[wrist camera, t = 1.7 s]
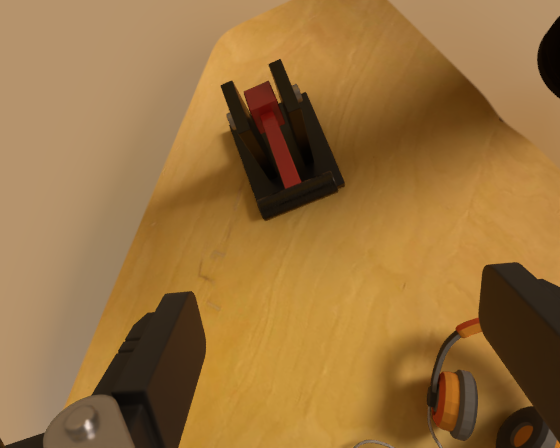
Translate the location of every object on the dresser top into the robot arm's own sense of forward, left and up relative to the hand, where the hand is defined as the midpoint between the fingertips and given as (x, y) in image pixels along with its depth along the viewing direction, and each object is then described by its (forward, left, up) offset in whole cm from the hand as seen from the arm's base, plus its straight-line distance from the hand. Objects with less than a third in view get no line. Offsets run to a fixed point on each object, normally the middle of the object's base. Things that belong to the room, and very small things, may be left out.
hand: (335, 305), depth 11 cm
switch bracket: (-12, -10, -27) cm, 32 cm away
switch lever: (-9, -7, -15) cm, 19 cm away
